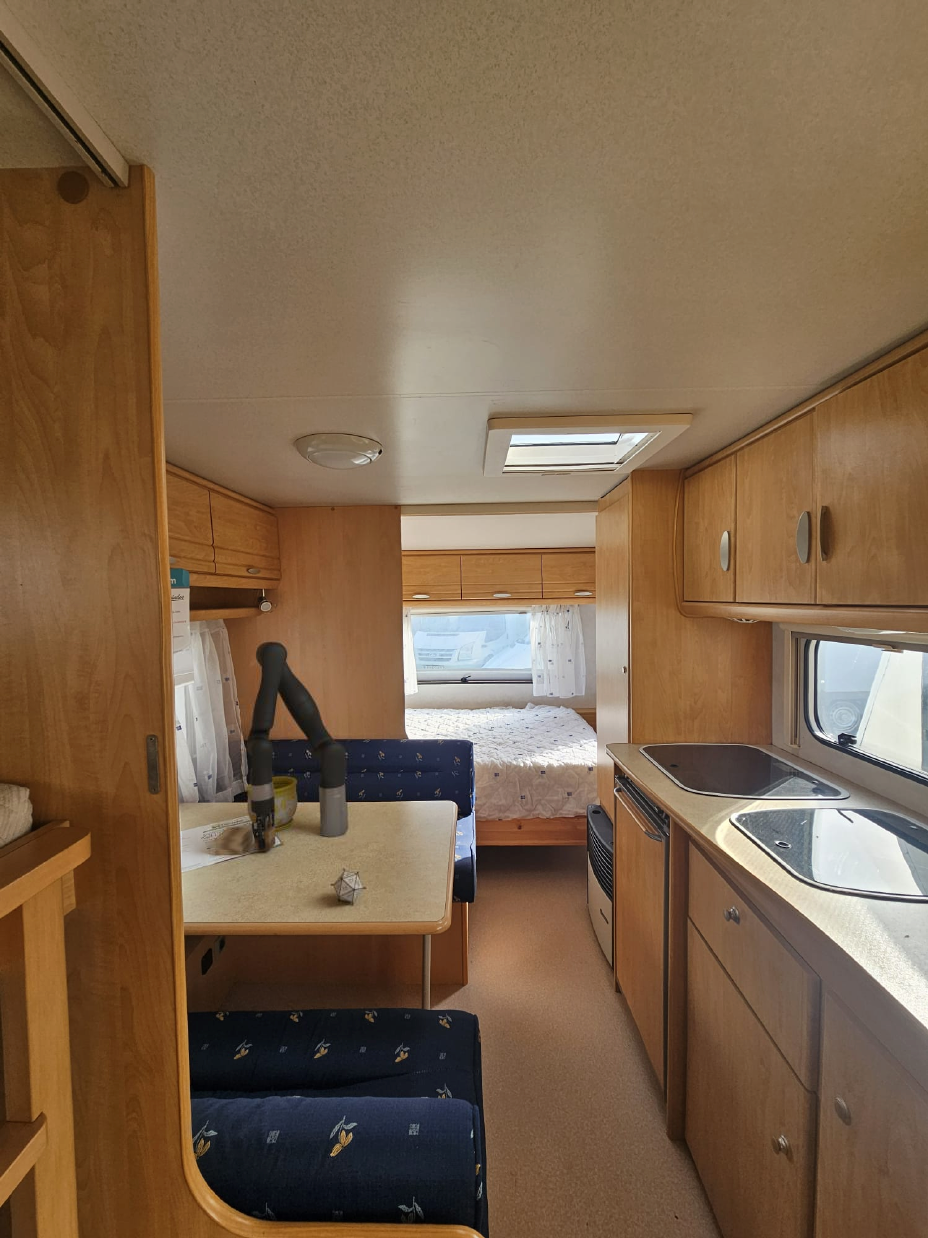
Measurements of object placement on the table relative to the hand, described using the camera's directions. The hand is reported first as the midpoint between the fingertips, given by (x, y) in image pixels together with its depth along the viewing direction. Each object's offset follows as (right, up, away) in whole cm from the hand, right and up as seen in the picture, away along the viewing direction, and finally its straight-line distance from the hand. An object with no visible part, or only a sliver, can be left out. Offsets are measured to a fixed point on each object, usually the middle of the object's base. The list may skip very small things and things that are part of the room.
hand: (265, 845), depth 177 cm
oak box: (-11, -2, +2) cm, 12 cm away
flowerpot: (-5, -2, +21) cm, 22 cm away
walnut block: (0, -1, 0) cm, 1 cm away
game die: (+36, -1, -34) cm, 49 cm away
